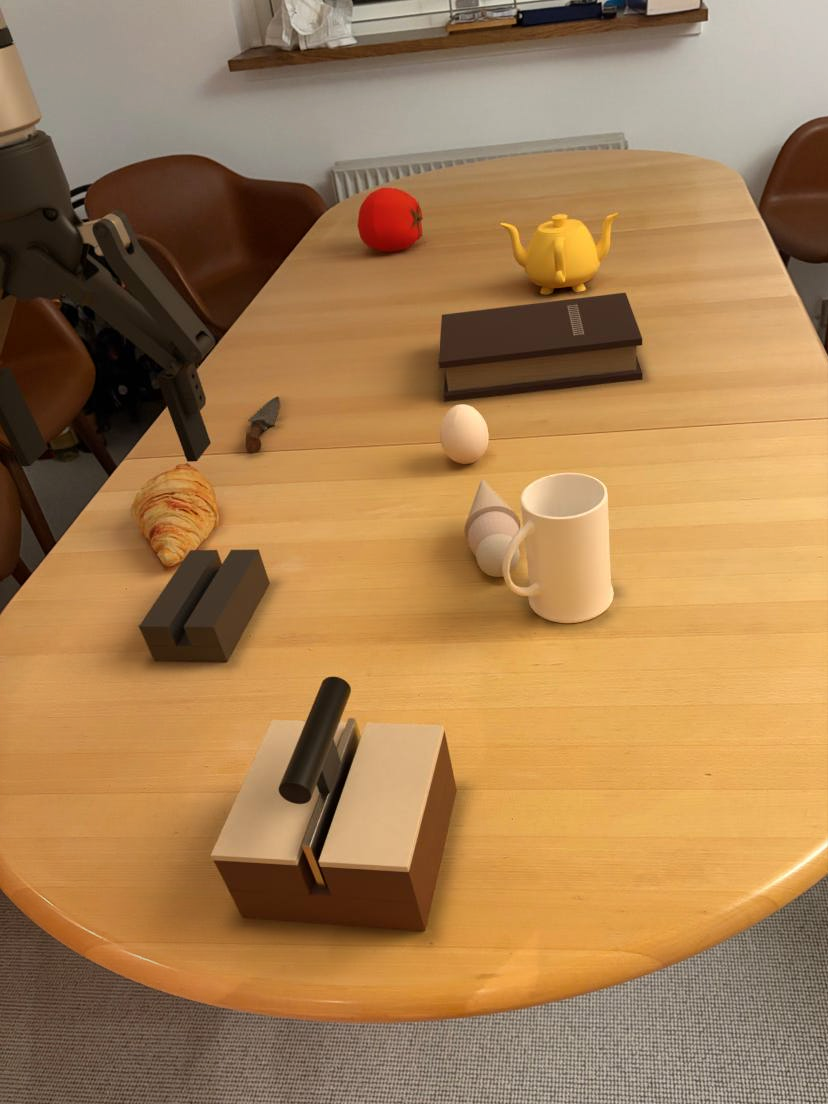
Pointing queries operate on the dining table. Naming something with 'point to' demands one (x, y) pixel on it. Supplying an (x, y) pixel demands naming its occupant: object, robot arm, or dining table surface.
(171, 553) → the croissant
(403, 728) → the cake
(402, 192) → the tomato
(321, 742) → the ulu knife
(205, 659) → the slotted block
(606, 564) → the mug
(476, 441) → the egg
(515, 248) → the teapot
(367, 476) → the dining table surface
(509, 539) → the ice cream cone
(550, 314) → the book
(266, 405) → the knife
